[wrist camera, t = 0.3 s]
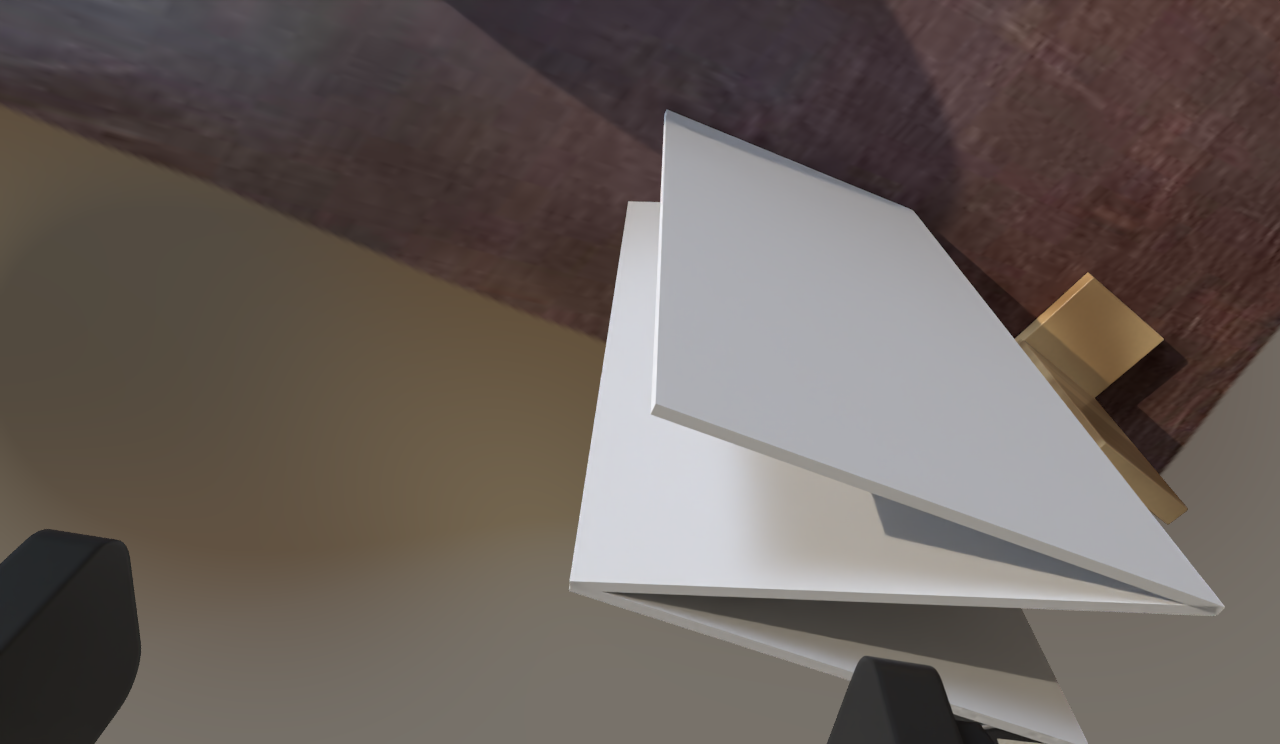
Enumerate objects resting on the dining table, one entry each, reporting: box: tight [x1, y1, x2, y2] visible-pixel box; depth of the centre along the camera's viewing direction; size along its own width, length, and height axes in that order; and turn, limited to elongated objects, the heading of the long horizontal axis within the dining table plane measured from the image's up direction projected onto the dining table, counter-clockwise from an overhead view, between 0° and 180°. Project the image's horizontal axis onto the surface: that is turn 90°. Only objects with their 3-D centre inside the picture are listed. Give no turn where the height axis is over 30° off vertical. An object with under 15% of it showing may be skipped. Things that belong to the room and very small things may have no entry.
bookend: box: [1015, 273, 1188, 524], centre depth 45 cm, size 6×6×11 cm
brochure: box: [569, 110, 1225, 744], centre depth 34 cm, size 14×6×30 cm, turn 69°
